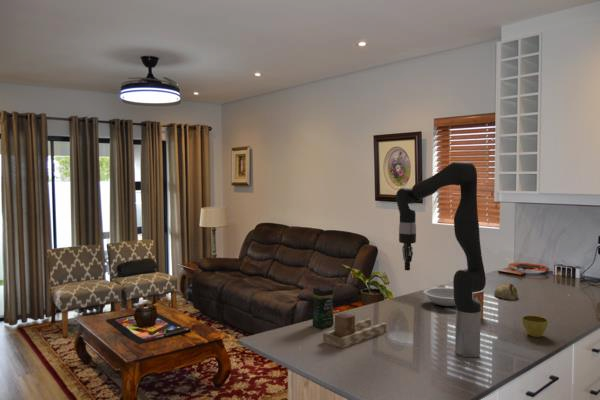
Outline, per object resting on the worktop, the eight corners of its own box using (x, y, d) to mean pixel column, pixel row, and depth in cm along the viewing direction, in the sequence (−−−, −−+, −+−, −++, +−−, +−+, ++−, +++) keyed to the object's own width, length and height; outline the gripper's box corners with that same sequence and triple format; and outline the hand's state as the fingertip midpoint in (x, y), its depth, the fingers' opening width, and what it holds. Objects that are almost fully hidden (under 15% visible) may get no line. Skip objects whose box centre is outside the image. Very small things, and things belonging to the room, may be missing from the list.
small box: (473, 320, 227) (473, 293, 227) (462, 316, 233) (462, 290, 232) (483, 317, 232) (484, 291, 231) (472, 314, 237) (473, 288, 236)
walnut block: (344, 334, 203) (344, 312, 203) (354, 338, 199) (355, 315, 198) (334, 337, 199) (334, 315, 199) (345, 341, 195) (345, 318, 194)
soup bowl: (479, 308, 248) (479, 295, 247) (442, 313, 239) (442, 300, 238) (449, 297, 270) (449, 286, 270) (414, 301, 261) (414, 289, 261)
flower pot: (516, 332, 208) (516, 316, 208) (533, 330, 212) (534, 314, 212) (535, 340, 199) (535, 323, 199) (552, 337, 203) (553, 320, 202)
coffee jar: (320, 329, 214) (320, 289, 213) (309, 325, 220) (309, 285, 219) (336, 325, 219) (336, 286, 218) (326, 321, 226) (326, 283, 225)
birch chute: (368, 326, 218) (368, 318, 218) (386, 331, 210) (386, 323, 210) (323, 342, 197) (323, 333, 197) (341, 348, 190) (341, 339, 190)
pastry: (521, 300, 263) (522, 286, 262) (498, 300, 264) (498, 286, 264) (513, 294, 277) (513, 280, 276) (491, 293, 278) (491, 280, 278)
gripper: (396, 230, 220) (396, 267, 221) (401, 233, 207) (401, 273, 208) (412, 230, 220) (412, 267, 220) (419, 233, 206) (418, 273, 207)
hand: (407, 270), depth 214 cm, fingers closed
